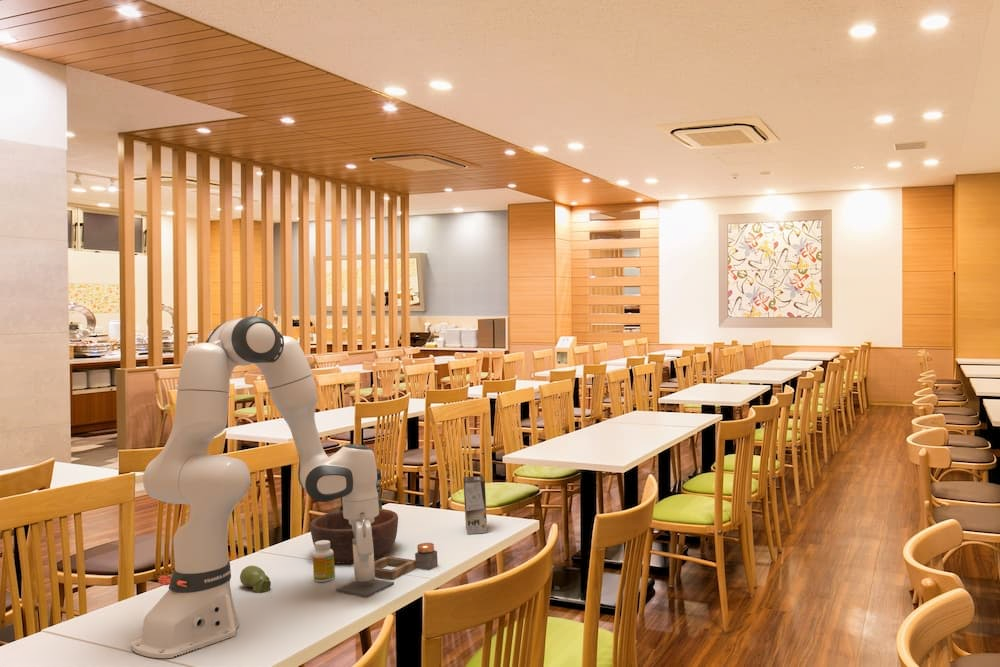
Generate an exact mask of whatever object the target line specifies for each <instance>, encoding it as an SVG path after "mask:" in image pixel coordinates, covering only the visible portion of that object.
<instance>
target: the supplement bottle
mask: <svg viewBox="0 0 1000 667" xmlns="http://www.w3.org/2000/svg"><path fill="white" fill-rule="evenodd" d="M314 549H315V550H313V552H312V568H313V569H312V570H313V571H312V572H313V580H314V582H317V583H325V582H330V581H333V580H334V579H335V577H336V572H335V570H336V569H335V563H334V553H333V550H332V549H330V541H328V540H321V541H317V542H315V547H314Z"/></svg>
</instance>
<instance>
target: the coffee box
mask: <svg viewBox="0 0 1000 667" xmlns="http://www.w3.org/2000/svg"><path fill="white" fill-rule="evenodd" d="M462 479H463V481H462V482H463V495H464V496H463V498H464V501H463V503H464V514H465V516H464V518H465V529H466V534H467V535H477V534H478V535H479V534H486V533H488V521H487V520H488V519H487V499H486V481H485V479H484V476H483V475H477V476H476V475H475V476H465V477H463V478H462Z"/></svg>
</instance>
